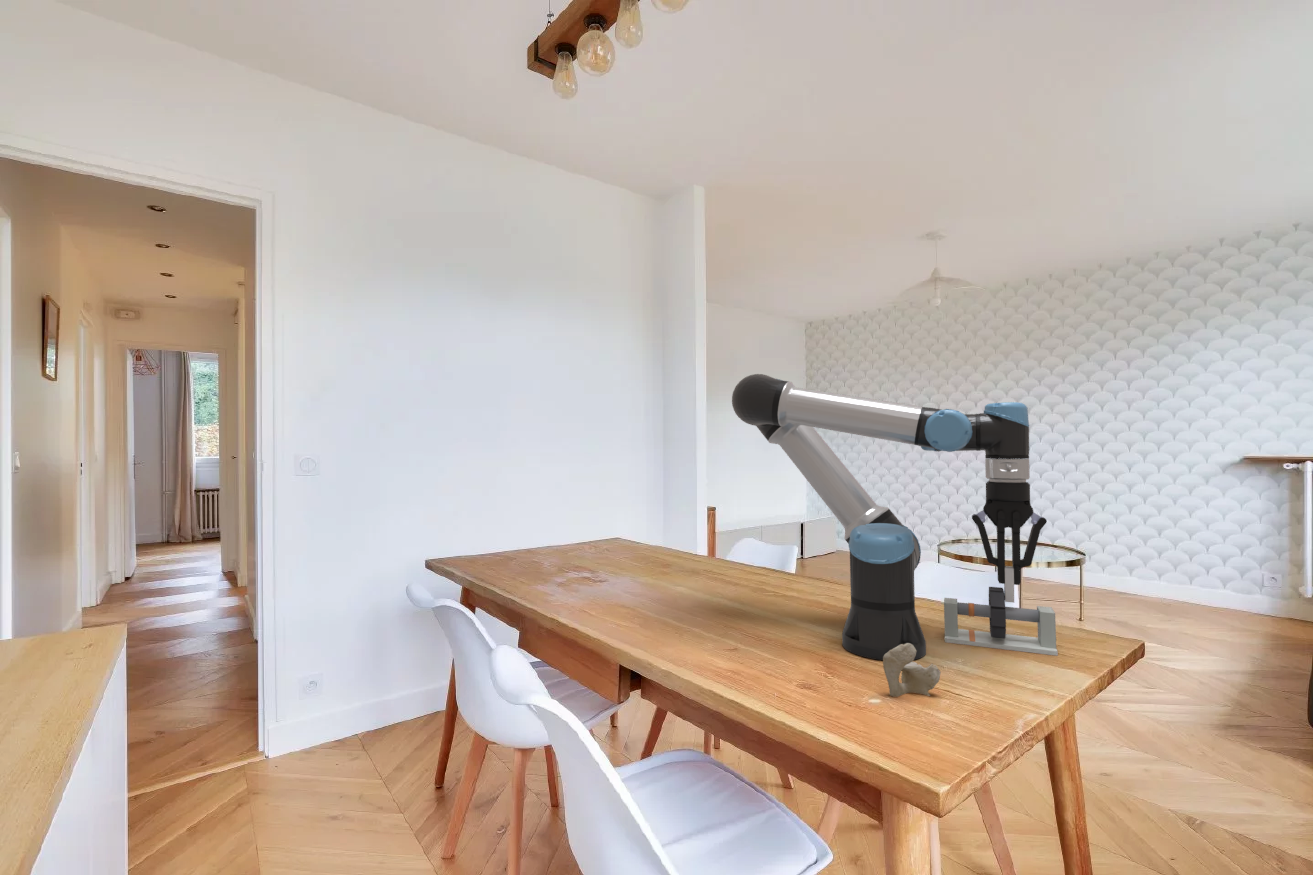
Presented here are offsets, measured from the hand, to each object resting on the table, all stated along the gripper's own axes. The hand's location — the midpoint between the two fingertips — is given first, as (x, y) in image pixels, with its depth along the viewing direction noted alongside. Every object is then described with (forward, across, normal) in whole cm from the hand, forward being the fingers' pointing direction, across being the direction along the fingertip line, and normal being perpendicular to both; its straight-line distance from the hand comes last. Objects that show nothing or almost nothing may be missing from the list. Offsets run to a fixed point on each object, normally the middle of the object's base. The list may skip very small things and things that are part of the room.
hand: (1009, 600), depth 116 cm
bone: (+9, -16, -33) cm, 38 cm away
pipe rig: (+9, -2, 0) cm, 9 cm away
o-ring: (+7, -2, 0) cm, 7 cm away
